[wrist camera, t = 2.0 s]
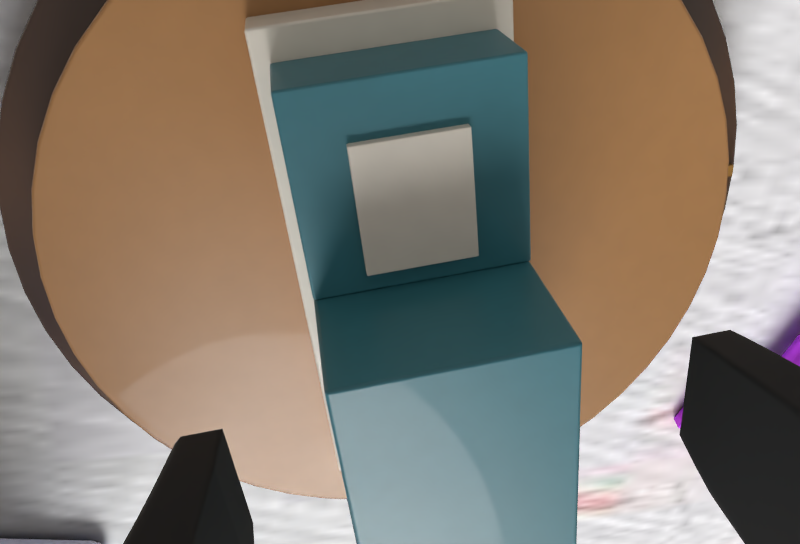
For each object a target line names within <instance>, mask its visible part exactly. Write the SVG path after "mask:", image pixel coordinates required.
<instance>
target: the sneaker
mask: <svg viewBox="0 0 800 544" xmlns="http://www.w3.org/2000/svg"><path fill="white" fill-rule="evenodd" d="M728 165H729V152H728V137H727V121H726V115H725V110H724V105H723V100H722V96H721V91H720V86H719V82H718V77H717V75H716V72H715V69H714V67H713V64H712V61H711V59H710V56H709V53H708V51H707V48H706V45H705V43H704V40H703V37H702V35H701V34H700V32H699V30H698V28H697V27H696V25H695V23H694V21H693V19H692V18H691V16H690V14H689V12H688V11H687V9H686V7H685V5H684V4H683V2H682V0H107V1H106V2H105V4H104V5H103V6H102V8H101V9H100V11H99V12H98V14H97V15H96V17H95V18H94V19H93V21H92V22H91V24H90V25H89V27H88V28H87V30H86V31H85V32H84V34H83V35H82V37H81V38H80V40H79V41H78V43H77V44H76V45H75V47H74V49H73V51H72V53H71V55H70V57H69V59H68V61H67V63H66V65H65V68H64V70H63V72H62V74H61V76H60V78H59V80H58V82H57V84H56V86H55V88H54V90H53V93H52V95H51V98H50V102H49V105H48V108H47V112H46V115H45V118H44V122H43V125H42V128H41V132H40V135H39V139H38V142H37V150H36V157H35V165H34V173H33V180H32V188H31V194H32V229H33V239H34V244H35V250H36V255H37V260H38V266H39V271H40V276H41V280H42V282H43V285H44V288H45V291H46V294H47V297H48V299H49V302H50V305H51V308H52V311H53V314H54V316H55V319H56V321H57V323H58V325H59V326H60V328H61V330H62V332H63V334H64V336H65V338H66V340H67V342H68V343H69V345H70V347H71V349H72V351H73V353H74V355H75V356H76V357H77V359H78V360H79V362H80V363H81V364H82V366H83V367H84V368H85V370H86V371H87V373H88V374H89V375H90V377H91V378H92V379H93V381H94V382H95V384H96V385H97V386H98V387H99V388H100V389H101V390H102V392H103V393H104V394H105V395H106V396H107V397H108V398H109V399H110V400H111V401H112V402H113V403H114V404H115V405H116V406H117V407H118V408H119V409H120V410H121V411H122V412H123V413H124V414H125V415H126V416H127V417H128V418H130V419H131V420H132V421H133V422H135V423H136V424H137V425H138V426H140V427H141V428H142V429H143V430H145V431H146V432H147V433H148V434H149V435H151V436H152V437H153V438H155V439H156V440H158V441H159V442H161V443H163V444H164V445H166V446H167V447H169V448H171V449H172V448H173V446H174V444H175V443H176V442H177V440H178V439H179V438H180V437H182V436H187V435H192V434H197V433H202V432H207V431H212V430H218V429H223V432H224V435H225V438H226V441H227V444H228V447H229V450H230V454H231V457H232V460H233V463H234V466H235V469H236V472H237V475H238V478H239V481H242V482H245V483H248V484H251V485H254V486H258V487H262V488H267V489H271V490H275V491H280V492H284V493H289V494H295V495H303V496H311V497H319V498H334V499H347V501H348V505H349V510H350V515H351V519H352V524H353V529H354V533H355V538H356V543H357V544H576V535H577V503H578V470H579V437H580V427H581V426H582V425H583V424H585V423H586V422H588V421H589V420H591V419H592V418H593V417H595V416H596V415H597V414H598V413H599V412H601V411H602V410H603V409H604V408H605V407H606V406H608V405H609V404H610V403H611V402H612V401H613V400H615V399H616V398H617V397H618V396H619V395H620V394H622V393H623V392H624V390H625V389H626V388H627V387H628V386H629V385H630V384H631V383H632V382H633V381H634V380H635V379H636V378H637V377H638V376H639V375H640V374H641V373H642V372H643V371H644V370H645V369H646V368H647V366H648V365H649V364H650V363H651V361H652V360H653V359H654V357H655V356H656V355H657V354H658V352H659V351H660V350H661V349H662V347H663V346H664V345H665V343H666V342H667V341H668V340H669V338H670V337H671V335H672V334H673V332H674V330H675V329H676V327H677V326H678V324H679V322H680V321H681V319H682V318H683V316H684V314H685V313H686V311H687V310H688V308H689V306H690V304H691V302H692V300H693V298H694V296H695V294H696V292H697V290H698V288H699V285H700V283H701V281H702V279H703V277H704V275H705V273H706V270H707V267H708V264H709V261H710V259H711V256H712V253H713V250H714V247H715V244H716V241H717V238H718V234H719V230H720V225H721V220H722V215H723V210H724V206H725V201H726V192H727V178H728Z"/></svg>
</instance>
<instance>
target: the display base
mask: <svg viewBox="0 0 800 544" xmlns="http://www.w3.org/2000/svg"><path fill="white" fill-rule="evenodd" d="M106 1H107V0H37V2H36V4H35V6H34V9H33V11H32V13H31V15H30V17H29V20H28V22H27V24H26V26H25V29H24V31H23V33H22V35H21V37H20V40H19V42H18V44H17V46H16V49H15V53H14V56H13V60H12V64H11V67H10V71H9V75H8V79H7V82H6V86H5V90H4V93H3V97H2V101H1V111H0V210H1V215H2V219H3V224H4V229H5V234H6V239H7V243H8V248H9V251H10V254H11V256H12V259H13V262H14V264H15V267H16V270H17V273H18V275H19V278H20V281H21V283H22V286H23V289H24V291H25V294H26V295H27V297H28V299H29V301H30V303H31V305H32V306H33V308H34V310H35V312H36V314H37V316H38V317H39V319H40V321H41V323H42V325H43V327H44V328H45V330H46V332H47V333H48V335H49V336H50V337H51V339H52V340H53V341H54V343H55V344H56V345H57V347H58V348H59V349H60V351H61V352H62V353H63V355H64V356H65V357H66V359H67V360H68V362H69V363H70V364H71V366H72V367H73V368H74V369H75V370H76V371H77V372H78V373H79V374H80V375H81V376H82V377H83V378H84V379H85V380H86V381H87V382H88V383H89V384H90V385H91V386H92V387H93V388H94V389H95V390H96V391H97V392H98V394H99V395H100V396H102V397H103V398H104V399H105V400H107V401H108V402H109V403H110V404H112V405H113V406H114V407H115V408H117V409H118V410H119V411H120V412H122V411H121V410H120V409H119V408H118V407H117V406H116V405H115V404H114V403H113V402H112V401H111V400H110V399H109V398H108V397H107V396H106V395H105V394H104V393H103V392H102V390H101V389H100V388H99V387H98V386H97V385H96V384H95V382H94V381H93V379H92V378H91V377H90V375H89V374H88V373H87V371H86V370H85V368H84V367H83V366H82V364H81V363H80V362H79V360H78V359H77V357H76V356H75V355H74V353H73V351H72V349H71V347H70V345H69V343H68V342H67V340H66V338H65V336H64V334H63V332H62V330H61V328H60V326H59V325H58V323H57V321H56V319H55V316H54V314H53V311H52V308H51V305H50V302H49V299H48V297H47V294H46V291H45V288H44V285H43V282H42V280H41V276H40V271H39V266H38V260H37V255H36V250H35V244H34V239H33V229H32V194H31V188H32V180H33V173H34V165H35V157H36V150H37V142H38V139H39V135H40V132H41V128H42V125H43V122H44V118H45V115H46V112H47V108H48V105H49V102H50V98H51V95H52V93H53V90H54V88H55V86H56V84H57V82H58V80H59V78H60V76H61V74H62V72H63V70H64V68H65V65H66V63H67V61H68V59H69V57H70V55H71V53H72V51H73V49H74V47H75V45H76V44H77V43H78V41H79V40H80V38H81V37H82V35H83V34H84V32H85V31H86V30H87V28H88V27H89V25H90V24H91V22H92V21H93V19H94V18H95V17H96V15H97V14H98V12H99V11H100V9H101V8H102V6H103V5H104V4H105V2H106ZM682 2H683V4H684V5H685V7H686V9H687V11H688V12H689V14H690V16H691V18H692V19H693V21H694V23H695V25H696V27H697V28H698V30H699V32H700V34H701V35H702V37H703V40H704V43H705V45H706V48H707V51H708V53H709V56H710V59H711V61H712V64H713V67H714V69H715V72H716V75H717V77H718V82H719V86H720V91H721V96H722V100H723V105H724V110H725V115H726V121H727V137H728V152H729V165H728V178H727V192H726V201H727V196H728V191H729V186H730V181H731V177H732V172H733V165H734V153H735V140H736V128H737V123H736V104H735V86H734V78H733V73H732V68H731V63H730V58H729V53H728V48H727V43H726V38H725V35H724V32H723V29H722V26H721V24H720V21H719V18H718V15H717V12H716V10H715V7H714V4H713V1H712V0H682ZM726 201H725V205H726ZM724 210H725V206H724ZM724 210H723V213H724ZM122 413H123V412H122ZM123 414H124V413H123ZM124 415H125V414H124ZM125 416H126V415H125ZM129 419H130V418H129ZM130 420H131V419H130ZM131 421H132V420H131ZM134 423H135V422H134Z"/></svg>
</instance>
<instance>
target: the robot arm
mask: <svg viewBox="0 0 800 544" xmlns="http://www.w3.org/2000/svg"><path fill="white" fill-rule="evenodd" d="M680 437H681V438H682V440H683V442H684V444H685V446H686V448H687V450H688V452H689V454H690V456H691V458H692V460H693V462H694V464H695V466H696V468H697V470H698V472H699V474H700V475H701V477H702V479H703V481H704V483H705V485H706V486H707V488H708V490H709V492H710V494H711V495H712V497H713V498H714V500H715V501H716V502H717V504H718V505H719V507H720V508H721V510H722V511H723V513H724V514H725V516H726V517H727V519H728V520H729V521H730V523H731V524H732V526H733V527H734V529H735V530H736V531H737V533H738V534H739V536H740V537H741V539H742V540H743V542H744V543H745V544H800V366H798V365H796V364H794V363H792V362H791V361H789V360H787V359H785V358H783V357H781V356H780V355H778V354H776V353H774V352H772V351H770V350H768V349H767V348H765V347H763V346H761V345H759V344H757V343H755V342H753V341H751V340H749V339H747V338H746V337H744V336H741V335H739V334H737V333H735V332H733V331H731V330H728V331H722V332H717V333H712V334H707V335H702V336H697V337H692V345H691V353H690V360H689V368H688V375H687V383H686V391H685V398H684V406H683V414H682V421H681V429H680ZM0 544H101V543H99V542H96V541H86V540H46V539H5V538H0ZM123 544H254V534H253V522H252V519H251V515H250V512H249V509H248V506H247V503H246V500H245V497H244V494H243V491H242V488H241V484H240V481H239V478H238V475H237V472H236V469H235V466H234V463H233V460H232V457H231V454H230V450H229V447H228V444H227V441H226V438H225V435H224V432H223V429H218V430H212V431H207V432H202V433H197V434H192V435H187V436H182V437H180V438H179V439H178V440H177V442H176V443H175V444H174V446H173V448H172V451H171V453H170V455H169V457H168V459H167V461H166V463H165V465H164V467H163V469H162V471H161V473H160V475H159V477H158V479H157V481H156V483H155V485H154V487H153V489H152V491H151V493H150V495H149V497H148V499H147V501H146V503H145V505H144V507H143V508H142V510H141V512H140V514H139V516H138V518H137V520H136V522H135V523H134V525H133V527H132V529H131V531H130V532H129V534H128V536H127V538H126V540H125V541H124V543H123Z"/></svg>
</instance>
